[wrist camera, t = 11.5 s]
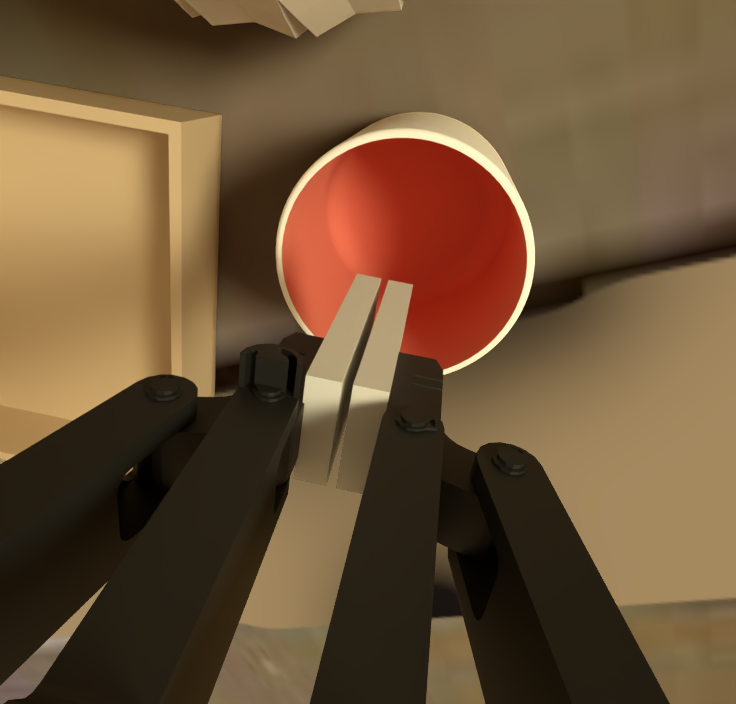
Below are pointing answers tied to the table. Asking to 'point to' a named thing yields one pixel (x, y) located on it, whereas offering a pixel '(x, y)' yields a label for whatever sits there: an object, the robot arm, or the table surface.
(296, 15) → the vase
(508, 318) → the cup
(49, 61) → the table surface
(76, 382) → the box
